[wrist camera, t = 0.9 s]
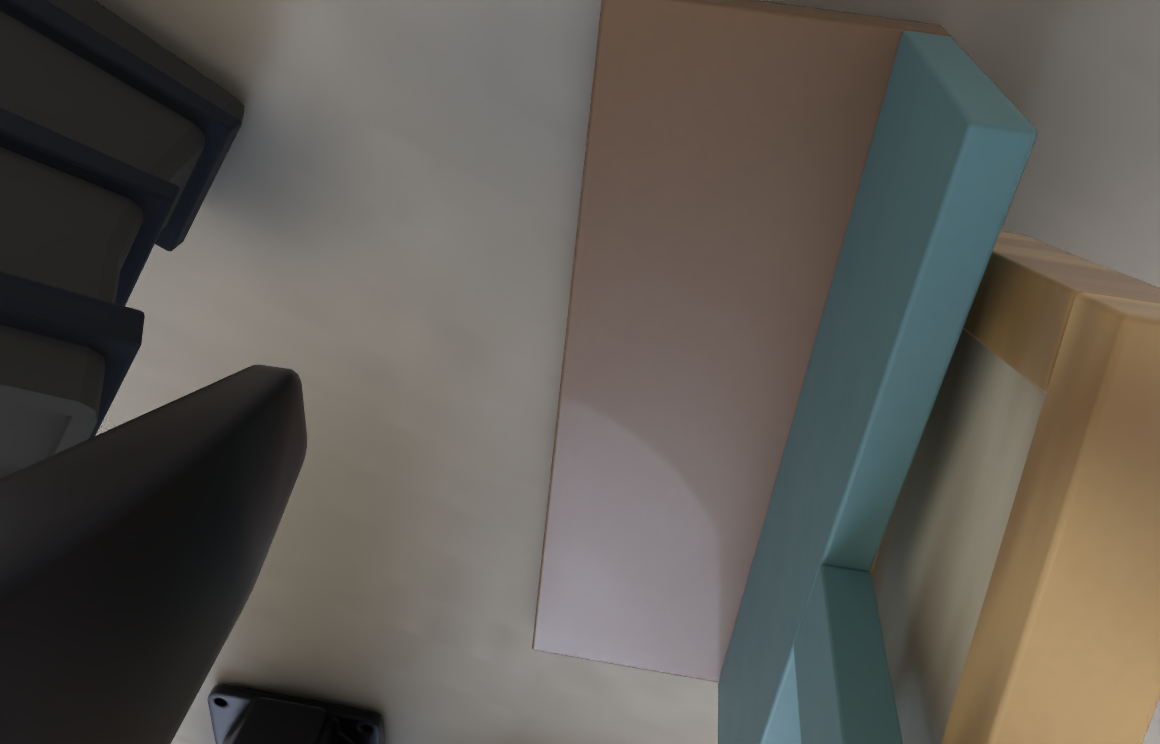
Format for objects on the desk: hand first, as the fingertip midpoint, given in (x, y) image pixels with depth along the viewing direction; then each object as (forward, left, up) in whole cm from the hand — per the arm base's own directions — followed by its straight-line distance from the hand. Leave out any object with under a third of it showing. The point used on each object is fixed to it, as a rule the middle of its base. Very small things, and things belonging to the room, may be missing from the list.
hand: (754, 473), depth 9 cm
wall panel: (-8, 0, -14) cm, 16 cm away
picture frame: (-10, -6, -10) cm, 15 cm away
